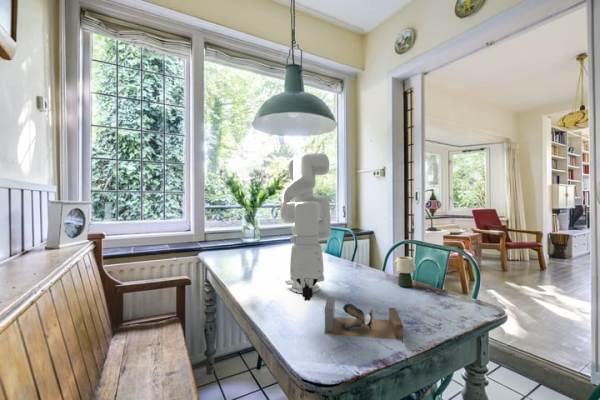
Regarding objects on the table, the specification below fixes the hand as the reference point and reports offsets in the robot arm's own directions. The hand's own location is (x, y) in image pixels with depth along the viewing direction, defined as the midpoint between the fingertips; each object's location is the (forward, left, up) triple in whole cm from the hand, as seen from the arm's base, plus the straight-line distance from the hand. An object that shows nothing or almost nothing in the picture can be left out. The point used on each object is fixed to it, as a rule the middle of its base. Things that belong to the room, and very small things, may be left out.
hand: (307, 299), depth 86 cm
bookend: (+7, +1, -8) cm, 11 cm away
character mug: (+38, +48, -10) cm, 62 cm away
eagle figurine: (+15, 0, -8) cm, 17 cm away
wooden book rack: (+16, +1, -10) cm, 19 cm away
